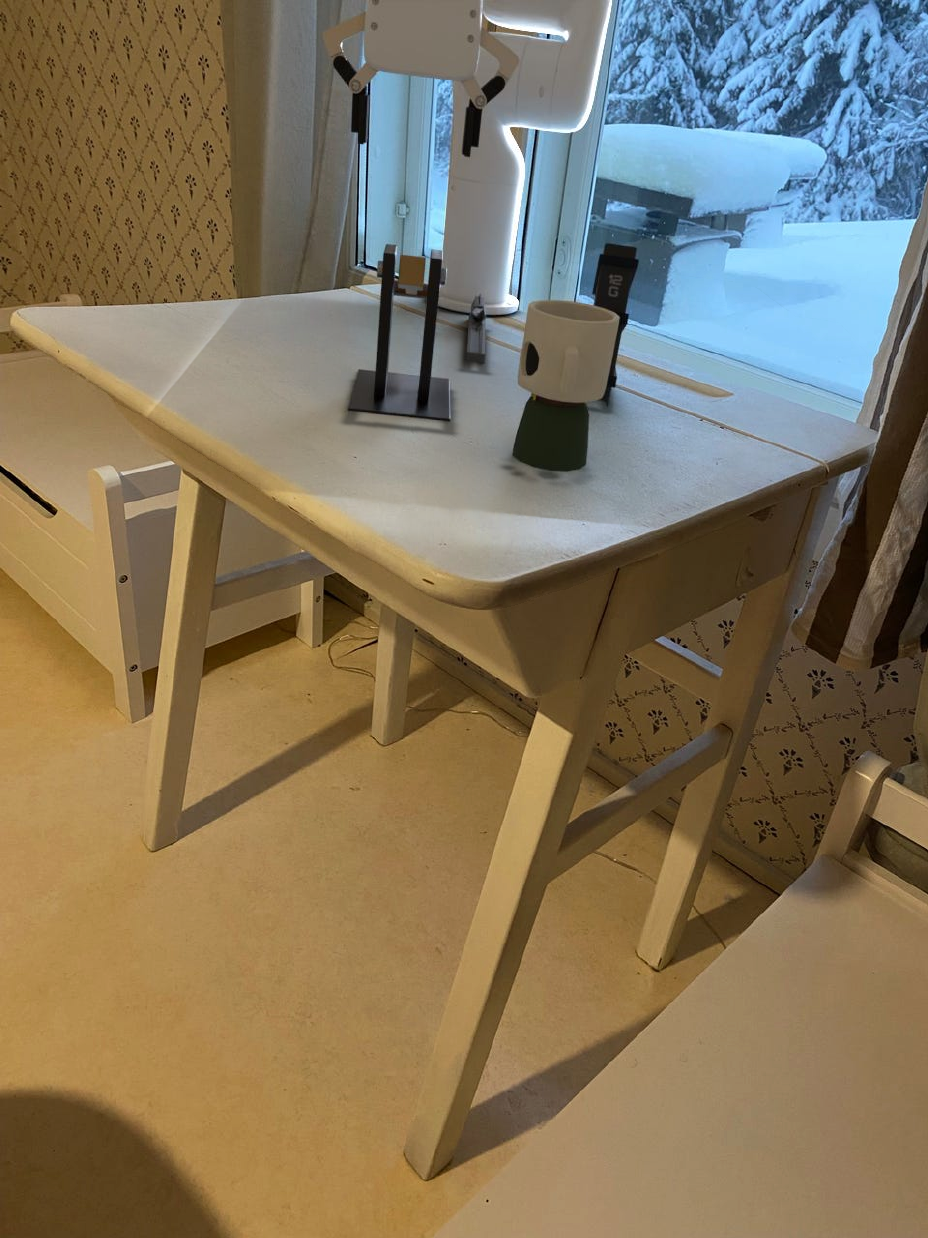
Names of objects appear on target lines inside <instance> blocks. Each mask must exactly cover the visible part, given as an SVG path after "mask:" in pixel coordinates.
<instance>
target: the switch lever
mask: <svg viewBox="0 0 928 1238" xmlns="http://www.w3.org/2000/svg"><path fill="white" fill-rule="evenodd" d="M426 260H427V258H426V257H425V256H416V255H408V254H400V255H399V265H398V266H399V267H398V276H397V279H395V283H394V297H404V298H413V299H422V300H427V289H428V283H425V273H426V262H427V261H426ZM439 293H440V289H439ZM438 300H439V299H438Z"/></svg>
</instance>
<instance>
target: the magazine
mask: <svg viewBox="0 0 928 1238" xmlns="http://www.w3.org/2000/svg"><path fill="white" fill-rule="evenodd" d="M603 247H604V248H603V252H602V253H600V254H599V256H598V260H597V267H596V270H595V271H596V272H595V276H594V281H593V286H592V292H591V295H594V299H593V304H592V305H594V306H597V307H601V308H604V309H607V310H609V311H612V312H614V313H616V314H617V315H618V316H619V317H620V318H619V325H618V330H617V335H616V340H615V345H614V350H613V355H612V360H611V365H610V370H609V375H608V381H607V386H606V389H605V393H604V395H603V397H602V399H599V400H598V401H601V402H604V403H605V406H606V407H607V408H608V406H609V401H610V398H611V397H610V396H611V391H612V388H616V385H617V380H618V375H617V368H616V367H617V366H616V365H617V360H618V356H619V350H620V344H621V340H622V339H621V338H622V335H623V332H624V330H625V328H626V327H627V326H628V323H629V317H630V313H627V307H628V301H629V296H630V291H631V288H632V285H633V282H634V280H635V277H636V273H637V271H638V267H639V264H640V263H639V262H640V259H638V258H636V257H637V253H638V252H637V251H638V248H637V247H636V246H630V245H622V244H617V243H610V242H608V243H607V242H606V243H605V244H604V246H603Z"/></svg>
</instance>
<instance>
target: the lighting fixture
mask: <svg viewBox="0 0 928 1238" xmlns="http://www.w3.org/2000/svg"><path fill="white" fill-rule="evenodd" d="M475 308H479V309H481V308H482V309H483V310H482V311H481V312H480V313H475V312H474V311H473V310H474V309H475ZM486 316H487V315H486V308H485V303H484V297H481V294H480V295H479V296H475V299H474V301H473V303H472V305H471V312H469V313H468V328H467V343H466V353H465V354H466V355H465V362H468V363H477V364H485V362H486V318H487V317H486Z"/></svg>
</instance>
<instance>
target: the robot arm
mask: <svg viewBox="0 0 928 1238" xmlns="http://www.w3.org/2000/svg"><path fill="white" fill-rule="evenodd" d="M365 3H366V4H365V11H364V12H361V13H360V14H358V15H355V16H353V17H350V18H349V19H347V20H345V21H342V22H340V23H338V24H336V25H334V26H332V27H329V28H327V29H325V30H324V31H323V32H322V36H321V37H322V40H323V43H324V45H325V48H326V50H327V53H328V55H329V58H330V60H331V62H332V65H333V68H334V70H335V71H336V72H337V73H338V75H339V76H340V78H341V79H342V80H343V82H344V83H345V84H346V86H347V87H348V89H349V90H350V92H351V95H352V97H351V118H350V119H351V120H350V133H354V134H355V133H356V134H357V145H365V144H367V142H368V138H369V137H368V136H369V119H370V118H369V117H370V114H369V113H370V96H371V95H370V94H368V84H370V82H371V81H372V80H373V78H375V77H376V75H377V74H378V73H379V72H383V73H388V74H394V75H395V74H396V75H402V76H409V77H411V76H412V77H417V78H426V79H434V80H442V81H451V86H452V88H451V89H452V109H453V110H452V113H453V115H452V117H453V128H452V146H451V158H450V170H449V177H448V178H449V179H448V188H447V189H448V190H447V201H446V211H445V220H444V228H443V229H444V231H443V239H442V249H441V250H442V268H446V269H447V273H446V283H445V285H440V293H439V300H438V307H440V308H443V309H446V310H450V311H455V312H459V313H466V314H469V312H471V305H472V303H473V301H474V299H475V296H479V295H480V294H481V297H484V303H485V308H486V316H497V315H498V316H501V315H502V316H503V315H509V314H513V313H516V311H518V310H519V304H520V303H519V300H518V299H517V297H515V296H513V295H511V294H510V285H511V279H512V278H511V276H512V269H513V263H514V262H513V261H514V255H515V248H516V241H517V233H518V227H519V217H520V211H521V203H522V202H521V201H522V195H523V188H524V183H525V172H526V168H525V161H524V160H525V159H524V157H523V154H522V152H521V149H520V148H519V147H520V146H518V144H517V141H516V140H515V138H514V136H513V135H512V132H511V129H510V128H512V127H513V128H514V127H515V128H526V129H534V130H540V131H548V132H556V133H572V132H577V131H579V130H580V129H582V128H583V126H584V125H585V124H586V122H587V120H588V118H589V115H590V113H591V110H592V107H593V103H594V99H595V93H596V88H597V83H598V77H599V72H600V67H601V62H602V57H603V52H604V51H603V50H604V46H605V41H606V35H607V30H608V26H609V20H610V15H611V9H612V3H613V0H366V2H365ZM483 16H484V18H486V20H487V21H489V22H491V23H492V24H494V25H497V26H500V27H503V28H508V29H512V30H520V31H526V32H535V33H541V34H542V33H543V34H550V35H556V36H557V35H558V36H561V37H563V38H564V39H565V40H559V39H551V38H543V37H534V36H531V35H525V34H516V33H510V32H509V33H508V32H501V31H500V32H499V31H488V30H486V29H485V28H484V27H483V26H482V24H483ZM362 32H363V58H364V61H365V62H364V64H363V65H362V66H361V67H360V69H359V70H358V71H357V70H356V69H355V68H354V66H353V65H352V64H351V62H350V61H349V60H348V58H347V56H346V54H345V51H344V48H343V42H344V41H346V40H347V39H350V38H351V37H354V36H356V35H359V34H360V33H362ZM482 310H483V309H482V308H481V309H479V308H475V309H474V310H473V311H474V312H475V313H480V312H481V311H482Z"/></svg>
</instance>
